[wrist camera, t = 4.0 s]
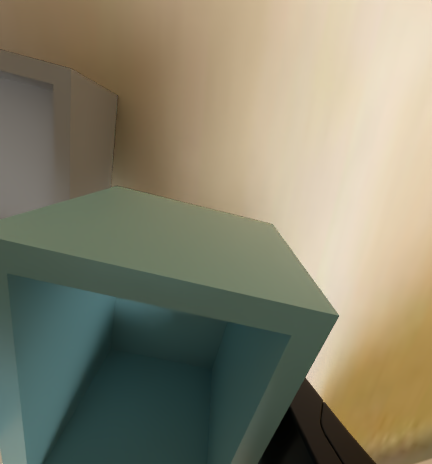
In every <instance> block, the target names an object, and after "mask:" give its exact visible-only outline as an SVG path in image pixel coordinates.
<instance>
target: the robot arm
mask: <svg viewBox="0 0 432 464" xmlns="http://www.w3.org/2000/svg"><path fill="white" fill-rule="evenodd" d="M258 464H376V463H375V462H374V461H373V460H372V458H371V457H370V456H369V455H368V454H367V453H366V451H365V450H364V449H363V448H362V447H361V446H360V445H359V443H358V442H357V441H356V440H355V439H354V438H353V436H352V435H351V434H350V433H349V432H348V430H347V429H346V428H345V427H344V426H343V424H342V423H341V422H340V421H339V419H338V418H337V417H336V416H335V414H334V413H333V412H332V411H331V409H330V408H329V407H328V406H327V404H326V403H325V402H323V399H322V398H321V397H320V396H319V394H318V393H317V392H316V390H315V389H314V388H313V387H312V385H311V384H310V383H309V382H308V380H307V379H306V378H305V379H304V381H303V382H302V384H301V386H300V388H299V390H298V391H297V393H296V395H295V397H294V399H293V400H292V402H291V404H290V406H289V408H288V410H287V411H286V413H285V415H284V417H283V419H282V420H281V422H280V424H279V426H278V428H277V429H276V431H275V433H274V435H273V437H272V438H271V440H270V442H269V444H268V446H267V448H266V449H265V451H264V453H263V455H262V457H261V458H260V460H259V462H258Z"/></svg>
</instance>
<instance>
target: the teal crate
mask: <svg viewBox="0 0 432 464" xmlns="http://www.w3.org/2000/svg"><path fill="white" fill-rule="evenodd" d="M338 317H339V315H338V313H337V312H336V311H335V309H334V308H333V307H332V305H331V304H330V302H329V301H328V300H327V298H326V297H325V296H324V294H323V293H322V291H321V290H320V289H319V287H318V286H317V285H316V283H315V282H314V280H313V279H312V278H311V276H310V275H309V274H308V272H307V271H306V269H305V268H304V267H303V265H302V264H301V263H300V261H299V260H298V258H297V257H296V256H295V254H294V253H293V252H292V250H291V249H290V247H289V246H288V245H287V243H286V242H285V241H284V239H283V238H282V236H281V235H280V234H279V232H278V231H277V230H276V228H275V227H274V225H273V224H270V223H266V222H262V221H258V220H254V219H250V218H246V217H242V216H238V215H234V214H230V213H226V212H222V211H218V210H213V209H209V208H205V207H201V206H197V205H193V204H189V203H185V202H181V201H177V200H173V199H169V198H165V197H161V196H157V195H153V194H149V193H144V192H140V191H136V190H132V189H128V188H124V187H120V186H115V187H111V188H108V189H104V190H101V191H97V192H94V193H91V194H87V195H84V196H80V197H77V198H73V199H70V200H66V201H63V202H59V203H56V204H52V205H49V206H45V207H42V208H38V209H35V210H32V211H28V212H25V213H21V214H18V215H14V216H11V217H7V218H4V219H0V451H1V457H2V462H3V464H258V462H259V460H260V458H261V457H262V455H263V453H264V451H265V449H266V448H267V446H268V444H269V442H270V440H271V438H272V437H273V435H274V433H275V431H276V429H277V428H278V426H279V424H280V422H281V420H282V419H283V417H284V415H285V413H286V411H287V410H288V408H289V406H290V404H291V402H292V400H293V399H294V397H295V395H296V393H297V391H298V390H299V388H300V386H301V384H302V382H303V381H304V379H305V377H306V375H307V373H308V371H309V370H310V368H311V366H312V364H313V362H314V361H315V359H316V357H317V355H318V353H319V352H320V350H321V348H322V346H323V344H324V342H325V341H326V339H327V337H328V335H329V333H330V332H331V330H332V328H333V326H334V324H335V323H336V321H337V319H338Z"/></svg>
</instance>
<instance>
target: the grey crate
mask: <svg viewBox="0 0 432 464" xmlns="http://www.w3.org/2000/svg"><path fill="white" fill-rule="evenodd" d="M117 101H118V95H116V94H114V93H113V92H111V91H109V90H107V89H106V88H104V87H102V86H100V85H99V84H97V83H95V82H94V81H92V80H90V79H88V78H87V77H85V76H83V75H81V74H80V73H78V72H76V71H74V70H73V69H71V68H67V67H64V66H60V65H56V64H53V63H49V62H45V61H42V60H38V59H34V58H31V57H27V56H23V55H19V54H16V53H12V52H8V51H5V50H1V49H0V219H4V218H7V217H11V216H14V215H18V214H21V213H25V212H28V211H32V210H35V209H38V208H42V207H45V206H49V205H52V204H56V203H59V202H63V201H66V200H70V199H73V198H77V197H80V196H84V195H87V194H91V193H94V192H97V191H101V190H104V189H108V188H111V180H112V167H113V154H114V141H115V127H116V114H117Z"/></svg>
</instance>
